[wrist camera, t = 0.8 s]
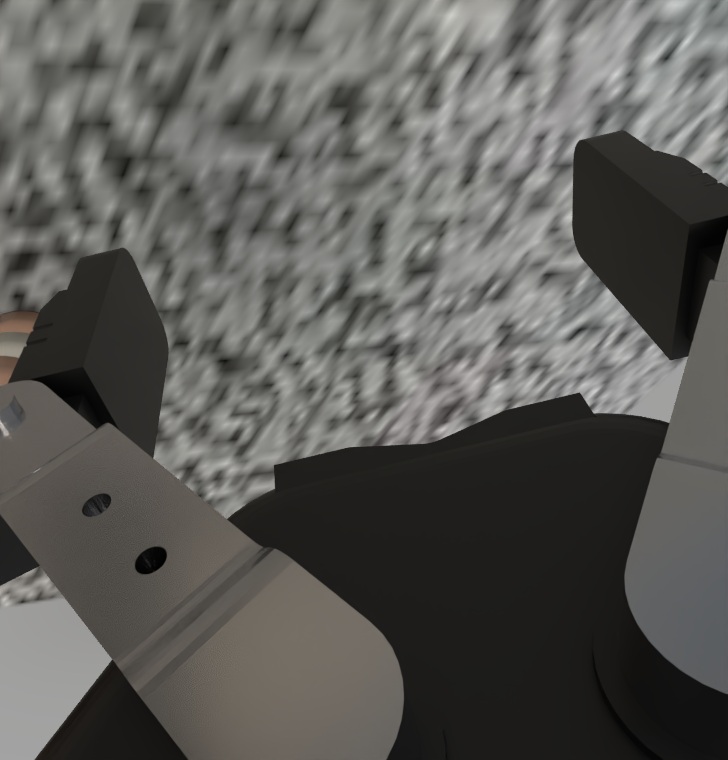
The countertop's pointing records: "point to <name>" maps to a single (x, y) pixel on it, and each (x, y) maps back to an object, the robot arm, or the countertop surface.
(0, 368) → the bead stack
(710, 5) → the countertop surface
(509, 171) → the countertop surface
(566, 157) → the countertop surface
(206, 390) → the countertop surface
